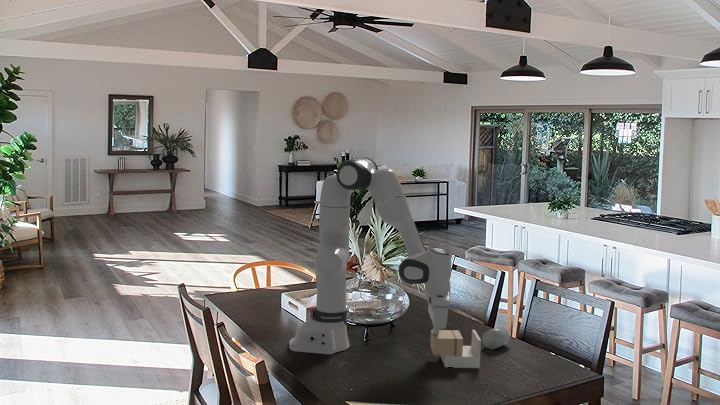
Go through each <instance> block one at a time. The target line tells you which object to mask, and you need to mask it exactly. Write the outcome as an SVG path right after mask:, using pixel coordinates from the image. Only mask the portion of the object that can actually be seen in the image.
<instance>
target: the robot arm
mask: <svg viewBox="0 0 720 405" xmlns="http://www.w3.org/2000/svg"><path fill="white" fill-rule="evenodd" d="M336 170H337V171H336V174H331V175H328V176H326V177H325V178H324V180H323V181H322V186H321V190H320V198H319V212H318V215H319V216H318V230H319V231H318V232H319V249H318V251H317V253H316V254H315V258H314V269H315V270H314V271H315V281H316V282H315V284H316V303H315V305H316V306H313V305H312V306H311V307H310V309H309V312H310V318H309V319H307V320H306V321H304V322H303V323H302V324H300V325H299V326H298V328H297V329H296V332H295V336H294V337H292V338H291V339H290V340H289V343H288V348H289V350H290V351H292V352H300V353H308V354H309V353H311V354H321V355H333V354H335V353H338V352H342V351H345V350H348V348H350V346H351V345H350V341H349V337H348V330H347V323H348V313H349V312H348V308H347V293H348V292H347V289H348V288H347V275H346V274H347V272H346V268H347V262H348V260H349V257H350V213H351V212H350V210H351V196H352V193H353V191H365V190H368V191H369V192H370V194H371V196H372V199H373V202H374V205H375V208H376V211H377V213H378V215H379V217H380V218H381V220H382V222H384V223H385V224H386V225H389V226H391V227H393V228H395V229H396V231H398V233H399V234H400V236H401V239H402V241H403V244H404V245H405V248H406V252H407V257H406V258H404V259H403V260H402V261H401V262H400V264H399V266H398V275H399V277H400V279H401V281H403V283H405V284H408V285H421V284H422V285H423V284H424V300H425V301H427V304H428V307H427V310H428V315H429V317H430V319H431V321H432V330H433V332H434V334H435V335H438V334H439V330H446V327H447V323H448V315H449V307H451V288H452V287H451V282H450V280H451V277H452V259H451V255H450V253H449V252H448V251H447V250H445V249H443V248H438V247H430V248H428V249H427V248H426V247H425V245H424V243H423V241H422V238H421V235H420V232H419V230H418V228H417V225H416V223H415V221H414V219H413V216H412V213H411V210H410V206H409V202H408V200H407V197H406V194H405V191H404V188H403V185H402V184H401V181H400V179H399V177H398V176H397V174H396V173H395V171H394V170H393V169H390V168H381V169H379V167H378V165H377V164H376V162H375V161H374V160H373V159H371V158H369V157H353V158H352V159H348V160H344V161H343V162H342V163H341V164H340V165H339V166H338V168H337V169H336Z"/></svg>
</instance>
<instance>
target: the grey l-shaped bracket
mask: <svg viewBox="0 0 720 405" xmlns="http://www.w3.org/2000/svg"><path fill="white" fill-rule="evenodd" d="M481 349H482V338H480V336H479V335H478V332H477V331H476V329H472V330H471V344H470V345H463V353H462V356H460V355H456V356H454V355H440V358H441V361H442V364H443V363H444V364H443V366H444V368H445V369H446V367H447V369H448V367H453V368H454V369H455V368H457V369H460V368H461V369H480V368H481V353H482V352H481ZM453 368H452V369H453Z"/></svg>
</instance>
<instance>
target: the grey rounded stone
mask: <svg viewBox="0 0 720 405" xmlns="http://www.w3.org/2000/svg"><path fill="white" fill-rule="evenodd" d="M481 340H482V343H483V345H484V346H485V347H486V348H487V349H488V348H489V349H488V350H491V349H492V350H495V349H498V348H500V347H503V346H506V345H507V344H509V342H510V340H511V334H510V331H508V329H507V328H506V327H504V326H497V327H495V328H492V329H489V330H487V331H485V332H484V333H483V334H482V338H481ZM492 350H491V351H492Z"/></svg>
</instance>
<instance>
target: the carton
mask: <svg viewBox="0 0 720 405" xmlns="http://www.w3.org/2000/svg"><path fill="white" fill-rule="evenodd" d="M429 344H430V345H429V346H430V349H431V352H432V355H433V356H441V355H454V356H456V355H460V356H462V353H463V346H464V338H463V336H462V334H461V332H460V330H459V329H458V330H457V329H456V330H453V329H451V330H449V329H448V330H447V329H439V334H438V335H435V334H434V332H433V329H430V341H429Z"/></svg>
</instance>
